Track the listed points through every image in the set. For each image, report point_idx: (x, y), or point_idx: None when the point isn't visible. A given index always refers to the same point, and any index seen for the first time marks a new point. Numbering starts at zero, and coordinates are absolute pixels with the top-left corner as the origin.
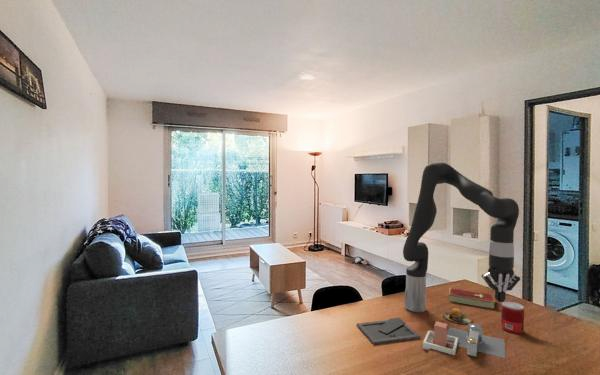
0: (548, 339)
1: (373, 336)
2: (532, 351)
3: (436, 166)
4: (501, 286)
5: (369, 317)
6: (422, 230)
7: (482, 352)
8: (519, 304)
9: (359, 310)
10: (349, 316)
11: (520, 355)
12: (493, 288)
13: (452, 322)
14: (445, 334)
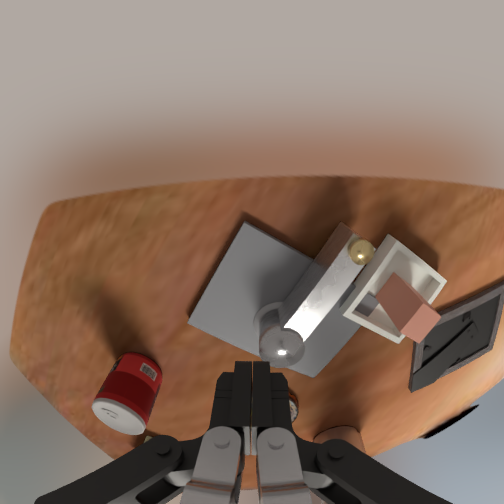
0: (78, 325)
1: (494, 308)
2: (134, 275)
3: None
4: (260, 480)
5: (452, 383)
6: None
7: (299, 253)
8: (99, 417)
9: (450, 402)
10: (478, 376)
11: (178, 254)
12: (352, 451)
13: (289, 396)
14: (413, 292)
